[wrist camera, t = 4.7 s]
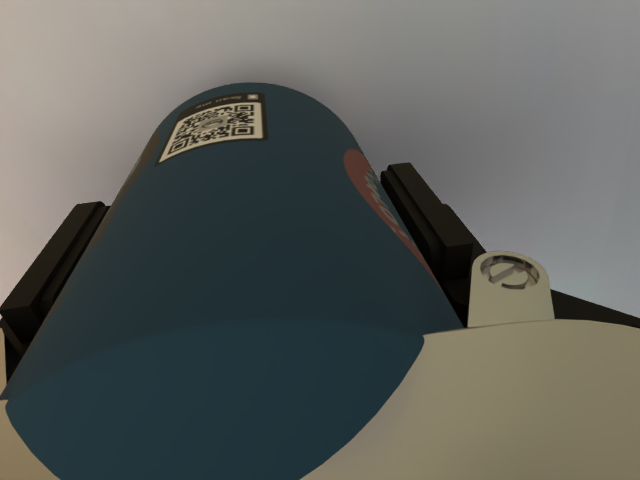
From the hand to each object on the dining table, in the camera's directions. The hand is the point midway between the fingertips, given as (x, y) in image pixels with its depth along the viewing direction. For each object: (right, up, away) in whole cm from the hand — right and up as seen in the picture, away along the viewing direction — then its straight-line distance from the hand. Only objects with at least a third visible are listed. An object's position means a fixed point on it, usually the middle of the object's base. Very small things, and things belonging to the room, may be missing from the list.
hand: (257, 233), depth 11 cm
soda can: (0, +2, +3) cm, 4 cm away
